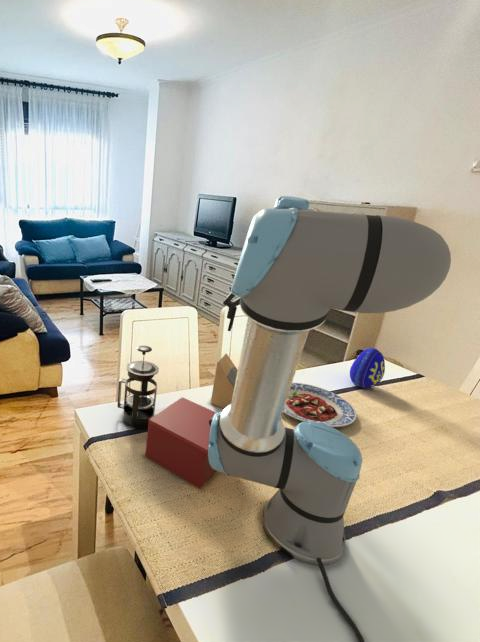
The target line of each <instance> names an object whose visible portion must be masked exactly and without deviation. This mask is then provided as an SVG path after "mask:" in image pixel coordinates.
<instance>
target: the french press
mask: <svg viewBox="0 0 480 642" xmlns="http://www.w3.org/2000/svg"><path fill="white" fill-rule="evenodd" d="M136 350H137V351H138V352H140V353H141V354H142V360H135V361H131V362H129V363H128V364H127V365H126V368H125V369H126V371H127V376H128V378H120V379H119V381H118V391H117V408H118V409H123V412H122V418H121V419H122V422H123V423H124V425H126V426H127V427H129V428H131V429H137V430H145V429H148V423H149V419H150V418H152V417H153V416H155V412H156V401H157V391H158V383H157V381H156V380H155V379H153V378H154V377H155V375H157V374H158V373H159V371H160V368H159V366H158V365H157V364H155V363H153V362H151V361H146V360H145V355H146V353H150V352H152V350H153V348H152V347H150V346H149V345H138V346H137V347H136ZM134 381H136V382H140V385H139V387H140V388H139V390H137V389H133V388H131V387H129V386H128V385H129V383H131V382H134ZM122 383H123V384H125V385H124V386H125V387H124V398H123V404H122V403H121V400H122V399H121V398H122V396H121V395H122ZM149 383H151V384H152V385H154V388H153V389H150V390H148V388H149V387H148V386H149ZM128 393H130V394H128ZM151 395H153V397H152V396H151ZM139 413H142V414H145V415H147V417H139ZM130 414H131V415H130Z"/></svg>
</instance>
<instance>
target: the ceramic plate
mask: <svg viewBox="0 0 480 642" xmlns="http://www.w3.org/2000/svg"><path fill="white" fill-rule="evenodd" d="M282 413H284V414H285V415H287V416H289V417H291V418H293V419H295V420H298V421H300V422H307V421H313V422H319V423H322V424H325V425H328V426H330V427H333V428H342V427H346V426H349V425H352V424H353V423H355V421H356V420H357V411H356V409H355V408H354V407H353V405H352V404H351V403H349V401H347V400H345V399H344V398H343V397H342V396H340V395H338V394H336V393H334V392H332V391H330V390H328V389H325V388H322V387H319V386H316V385H313V384H307V383H302V382H301V383H300V382H292V384H291V387H290V390H289V393H288V396H287V399H286V403H285V406H284V409H283V412H282Z"/></svg>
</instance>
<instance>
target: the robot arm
mask: <svg viewBox="0 0 480 642" xmlns="http://www.w3.org/2000/svg"><path fill="white" fill-rule="evenodd" d="M309 208H310V201H309V200H308V199H305V198H302V197H297V196H291V195H290V196H289V195H280V196H278V197H277V198H276V200H275V202H274V206H273V208H264V209H260V210H259V211H258V212H257V213H256V214H254V215H253V217H252V218H251V222H250V224H249V228H248V230H247V234H246V237H245V239H244V243H243V246H242V249H241V253H240V256H239V257H240V258H239V261H238V263H237V267H236V270H235V273H234V277H233V281H232V284H231V287H230V292H229V294H227V296H226V298H224V300H223V302H222V305H224V306H226V307H227V308H228V310H227V315H226V319H229V324H228V327H227V332H231V331H232V328H233V326H234V321H235V317H236V313H237V309H238V306H240V309H241V311H242V313H243V314H244V315H245V316H246V318H247V319H246V324H245V329H244V330H245V331H244V335H243V340H242V346H241V351H240V357H239V361H238V366H237V370H238V371H237V377H236V382H235V387H234V392H233V397H232V403H231V404H230V405H228V406H227V407H226V408H225V409H224V408H223V409H224V410H223V412H220V411H218V412H216V413H215V414H214V416H213V419H212V423H211V429H210V435H209V447H208V459H209V464H210V466H211V467H212V468H213V469H214V470H216V471H217V472H219V473H222V474H225V476H229V477H230V476H231V477H235V478H238V479H242V480H245V481H249V482H253V483H256V484H261V485H264V486H268V487H271V488H274V489H277V491H276V492H275V493H273V495H272V496H271V498H270V499H269V500H268V501H267V503H266V504H265V506H264V509H263V511H262V516H261V521H262V526H263V529H264V532H265V534H266V535H267V537H268V538H269V540H271V542H272V543H273V544H274V545H275V546H276V547H277V548H278V549H279V550H281V551H282V552H284V553H285V555H288V556H290V557H291V558H293V559H295V560H297V561H300V562H303V563H305V564H308V565H309V564H310V565H315V566H318V567H319V571H320V573H321V575H322V578H323V582H324V585H325V588H326V591H327V593H328V595H329V597H330V599H331V600H332V602H333V604H334V606H335V607H336V608H337V609H338V611H339V613H340V614H341V616H343V618H344V619H345V620H346V622H347V623H348V625H349V626H350V628H351V629H352V631H353V633H354V634H355V636H356V638H357V641H358V642H365V639H364V637H363V635H362V633H361V631H360V630H359V627H358V626H357V625H356V623H355V622H354V620H353V619H352V617H351V616H350V615H349V614H348V613H347V611H346V610H345V608H344V607H343V605H342V604H341V603H340V602H339V600H338V598H337V597H336V595H335V593H334V591H333V589H332V586H331V583H330V579H329V576H328V574H327V571H326V568H325V566H326V565H327V566H328V565H331V564H334V563H335V562H337V561H338V560H340V558H341V557H342V555H343V552H344V550H345V547H346V533H345V519H344V517H345V516H344V515H345V513H346V510H347V508H348V505H349V503H350V500H351V497H352V494H353V492H354V489H355V487H356V483H357V482H358V480H359V479H360V473H361V468H362V464H363V455H362V452H361V450H360V448H359V447H358V445H357V444H356V443H355V442H354V441H353V440H352V439H351V438H350V437H348V436H347V435H346V434H345V433H343V432H341V431H340V430H338V429H336V427H330V426H328V425H325V424H322V423H319V422H313V421H307V422H303V421H300V423H298V424H297V425H296V426H295V427H294V429H293V428H289V427H286V426H285V425H284V422H283V420H282V418H281V417H282V414H283V413H284V412H283V409H284V406H285V403H286V399H287V396H288V393H289V390H290V387H291V384H292V383H293V381H294V378H295V375H296V372H297V370H298V366H299V363H300V360H301V357H302V354H303V351H304V348H305V345H306V342H307V338H308V335H309V334H310V333H309V332H310V331H312V330H314V329H317V328H318V327H319V328H320V326H322V325H323V324H324V323H325V322H326V320H327V318H328V315H329V312H330V310H336V311H343V312H349V313H358V314H359V313H360V314H383V313H391V312H395V311H399V310H403V309H406V308H407V309H408V308H409V307H411V306H414V305H416V304H418V303H420V302H423V301H424V300H426V299H427V298H428V297H430V296H431V295H433V294H434V293H435V292H436V291H437V290H438V289H439V288H440V287H441V286H442V284H443V283H444V281H445V280H446V278H447V276H448V273H449V272H450V268H451V262H452V257H451V256H452V255H451V250H450V247H449V245H448V243H447V242H446V240H445V239H444V237H443V236H442V235H441V234H439V232H437V231H436V230H434V228H433V229H432V228H431V227H429V226H427V225H424V224H421V223H419V222H416V221H415V220H410V219H406V218H402V217H397V216H391V215H377V214H376V215H372V214H361V213H348V212H337V211H323V210H311V209H310V210H309ZM235 297H237V298H236V299H234V298H235ZM233 299H234V300H233Z"/></svg>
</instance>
